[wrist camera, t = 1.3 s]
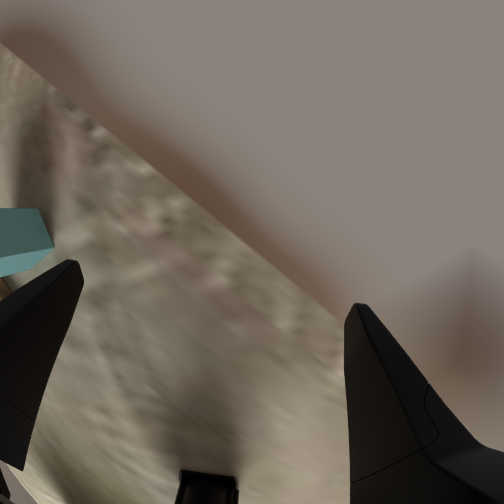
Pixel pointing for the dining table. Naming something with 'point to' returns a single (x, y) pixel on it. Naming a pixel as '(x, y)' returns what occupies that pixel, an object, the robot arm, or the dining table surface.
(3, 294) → the base brick
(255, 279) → the dining table surface
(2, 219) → the tall block
